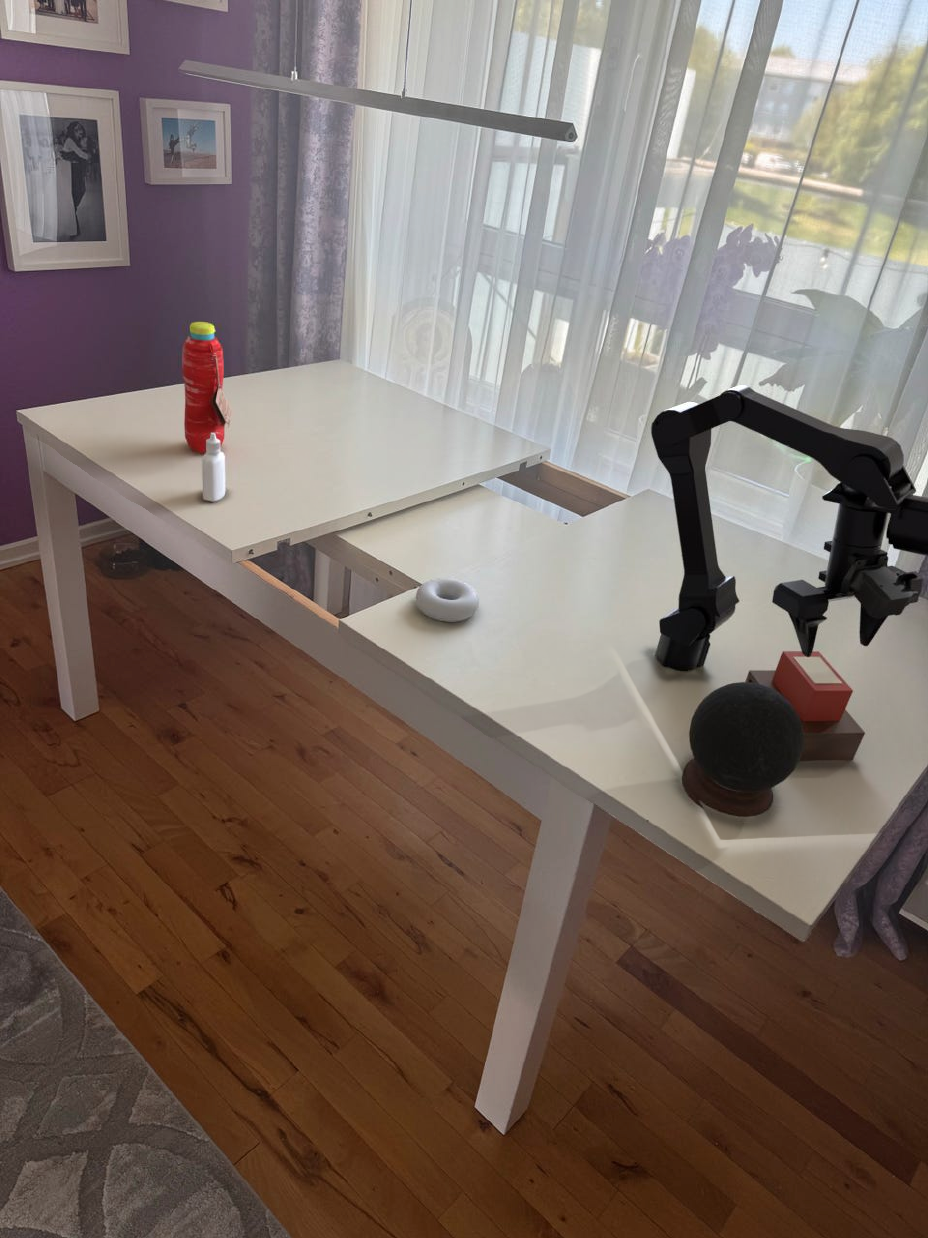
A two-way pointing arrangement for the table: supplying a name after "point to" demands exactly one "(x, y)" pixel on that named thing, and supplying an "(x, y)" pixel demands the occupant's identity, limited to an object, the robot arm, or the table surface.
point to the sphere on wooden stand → (741, 748)
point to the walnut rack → (820, 730)
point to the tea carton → (812, 686)
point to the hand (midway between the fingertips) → (835, 650)
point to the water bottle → (204, 387)
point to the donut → (458, 602)
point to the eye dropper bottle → (213, 470)
